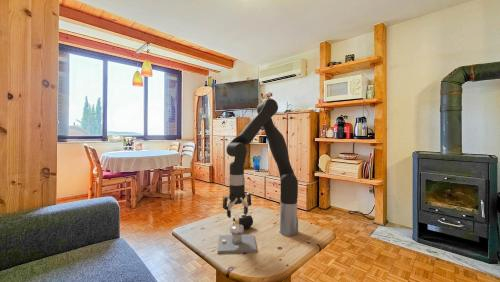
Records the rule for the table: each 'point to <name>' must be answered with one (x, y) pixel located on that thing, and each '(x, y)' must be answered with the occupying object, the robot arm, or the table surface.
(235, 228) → the lock knob
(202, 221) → the table surface
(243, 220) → the end cap
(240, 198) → the robot arm
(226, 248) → the base
